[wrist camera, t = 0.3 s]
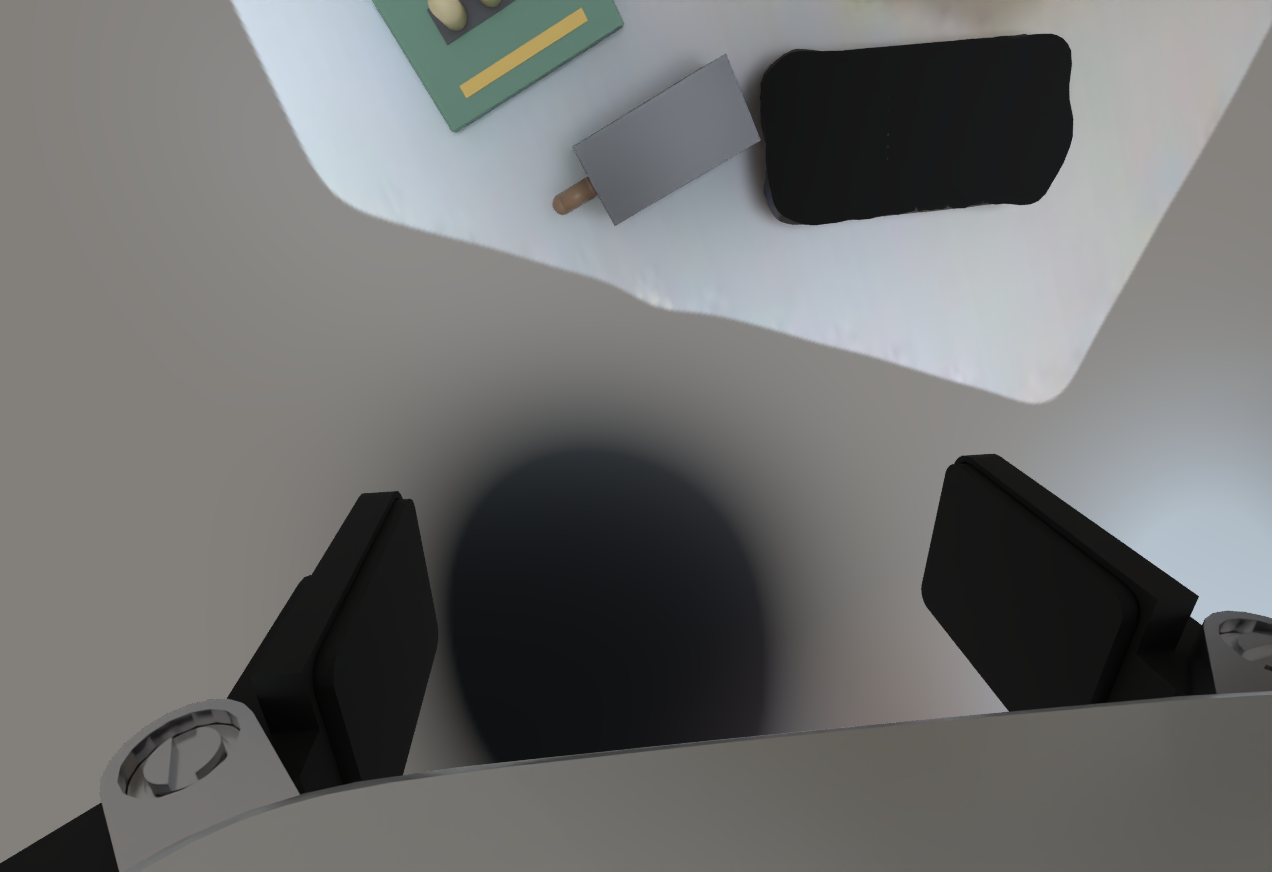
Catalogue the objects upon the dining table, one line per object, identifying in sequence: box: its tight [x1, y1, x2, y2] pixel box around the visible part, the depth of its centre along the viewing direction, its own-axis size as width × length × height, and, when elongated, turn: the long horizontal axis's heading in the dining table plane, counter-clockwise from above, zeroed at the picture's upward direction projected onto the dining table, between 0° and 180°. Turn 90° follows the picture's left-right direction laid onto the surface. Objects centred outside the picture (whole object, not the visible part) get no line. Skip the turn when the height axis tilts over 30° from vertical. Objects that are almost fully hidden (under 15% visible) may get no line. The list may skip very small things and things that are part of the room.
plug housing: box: [553, 54, 760, 226], centre depth 32 cm, size 10×4×5 cm, turn 118°
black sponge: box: [760, 34, 1073, 225], centre depth 33 cm, size 16×8×4 cm, turn 94°
